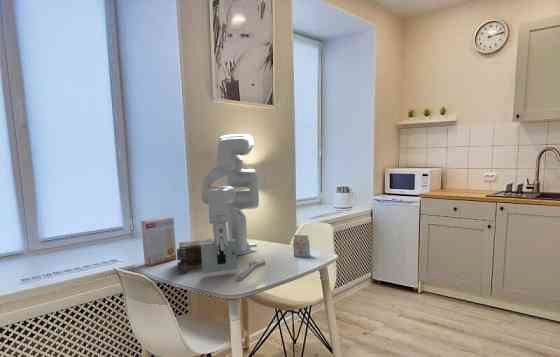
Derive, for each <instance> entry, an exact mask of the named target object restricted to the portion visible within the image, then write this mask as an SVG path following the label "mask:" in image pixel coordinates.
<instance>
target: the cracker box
mask: <svg viewBox="0 0 560 357" xmlns="http://www.w3.org/2000/svg"><path fill="white" fill-rule="evenodd" d="M174 222H175V219H174V217H171V216H165V217H160V218H153V219H148V220H141V221H140V223H141V226H140V227H141V235H142V237H141V238H142V247H143V248H142V249H143V260H144V261H143V262H144V265H145V266H148V267H151V266H156V265H159V264H163V263H167V262H170V261H174V260H177V245H176V232H175V231H176V230H175V223H174Z"/></svg>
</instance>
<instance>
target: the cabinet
mask: <svg viewBox="0 0 560 357" xmlns="http://www.w3.org/2000/svg"><path fill="white" fill-rule="evenodd" d="M207 242H214V240H212V238H211V239H208V238H207V239H202V240H193V241H190V240H189V241H182V242H178V248H176V258H177V259H176V260H177V275H184V274H185V275H186V274H188V269H189V270H190V269H195V268H197V269H198V268H202V256H201V243H207Z"/></svg>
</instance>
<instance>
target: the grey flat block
mask: <svg viewBox="0 0 560 357" xmlns="http://www.w3.org/2000/svg"><path fill="white" fill-rule="evenodd" d="M224 246H225V244H224ZM219 247H220V246H219ZM217 255H218V248H217V247H216V245H215V242H214V241H213V242H207V243H201V256H202V267H201V269H202V274H204V275H205V274H211V273H217V272H223V271H231V270H236V269H237V270H238V258H237V257H238V255H237V254H236V240H235V239H231V240H228V247H226V246H225V257H226V263H225V264H218V258H217Z"/></svg>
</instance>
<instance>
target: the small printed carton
mask: <svg viewBox="0 0 560 357" xmlns="http://www.w3.org/2000/svg"><path fill="white" fill-rule="evenodd" d="M293 238H294V239H293V256H294V257H300V258H308V257H310V256H311V251H310V250H311V246H310V240H309V236H308V235H304V234H294V235H293Z"/></svg>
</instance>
